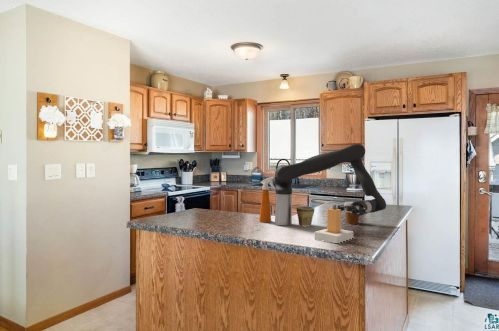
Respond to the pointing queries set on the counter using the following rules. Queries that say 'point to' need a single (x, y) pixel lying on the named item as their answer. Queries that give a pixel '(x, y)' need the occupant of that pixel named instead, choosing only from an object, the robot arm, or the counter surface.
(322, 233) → the socket
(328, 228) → the plug
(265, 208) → the spray bottle
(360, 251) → the counter surface
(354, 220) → the disposable coffee cup
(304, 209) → the olive green flower pot
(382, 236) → the counter surface
